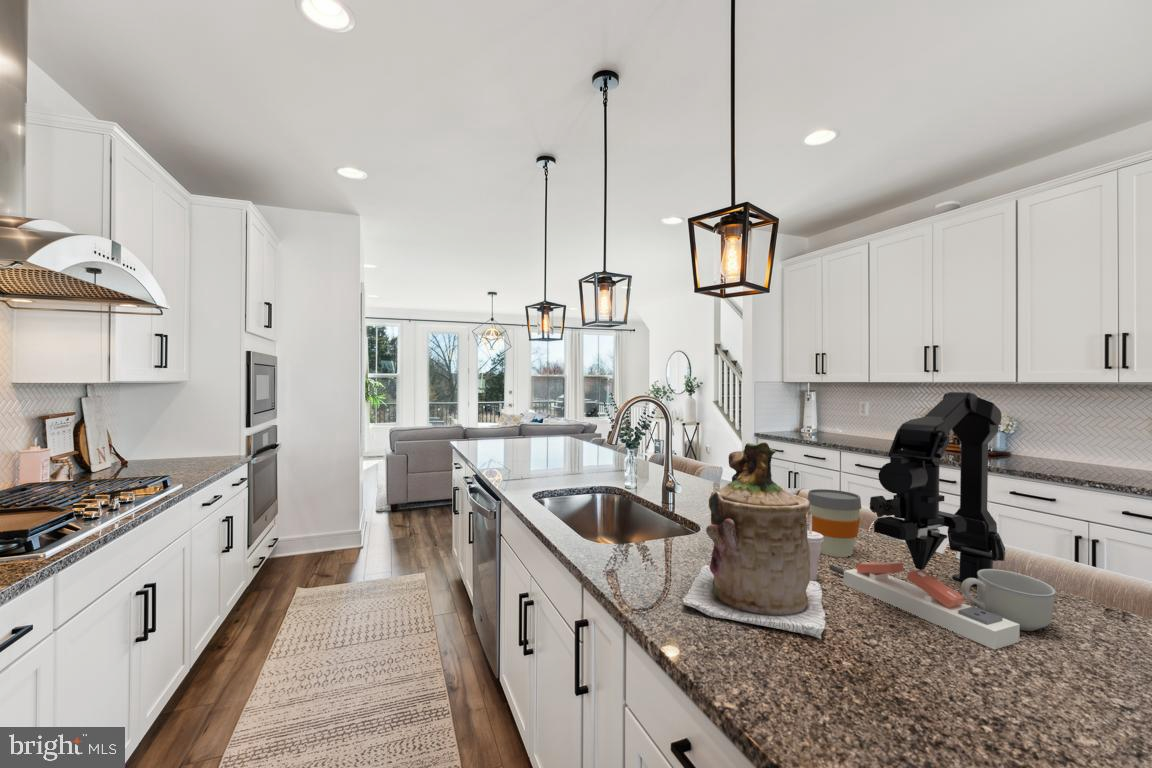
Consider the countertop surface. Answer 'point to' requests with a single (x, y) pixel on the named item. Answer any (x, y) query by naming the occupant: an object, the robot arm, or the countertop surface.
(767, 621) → the cookie jar
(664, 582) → the countertop surface
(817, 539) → the smoothie
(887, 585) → the power strip
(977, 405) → the robot arm
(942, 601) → the block
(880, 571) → the rocker
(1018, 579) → the teacup
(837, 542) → the reusable coffee cup
